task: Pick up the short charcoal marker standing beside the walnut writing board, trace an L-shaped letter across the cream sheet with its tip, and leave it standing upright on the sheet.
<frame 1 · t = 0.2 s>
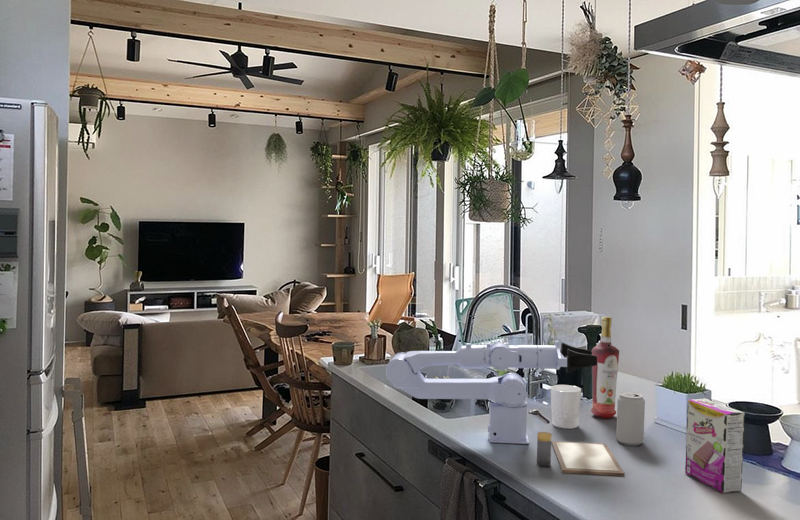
hand: (594, 357, 158), 21 cm above the worktop, tool horizontal, fingers open, 7 cm apart
beverage can: (629, 443, 161), on the worktop
marker: (543, 465, 144), on the worktop
candy bar box: (712, 483, 136), on the worktop
white cup: (564, 425, 174), on the worktop
writing board: (585, 458, 149), on the worktop
liquor: (603, 417, 183), on the worktop
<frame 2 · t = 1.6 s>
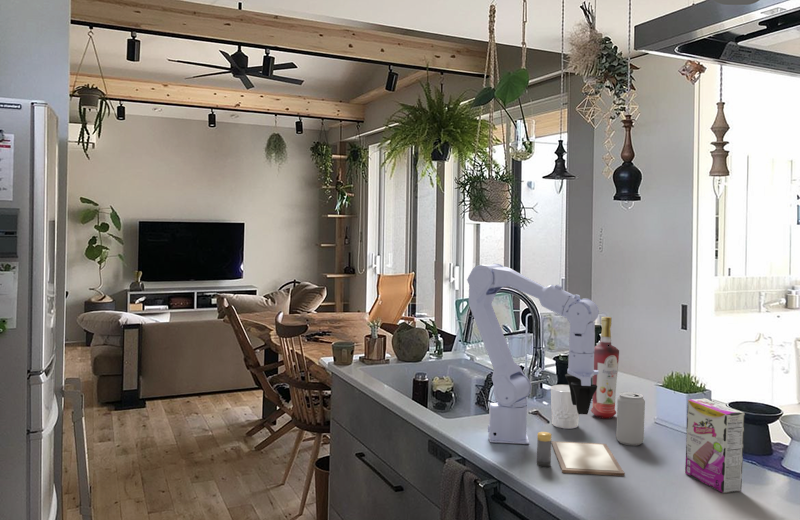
hand: (579, 409, 152), 10 cm above the worktop, tool pointing down, fingers open, 7 cm apart
nothing on the worktop moved.
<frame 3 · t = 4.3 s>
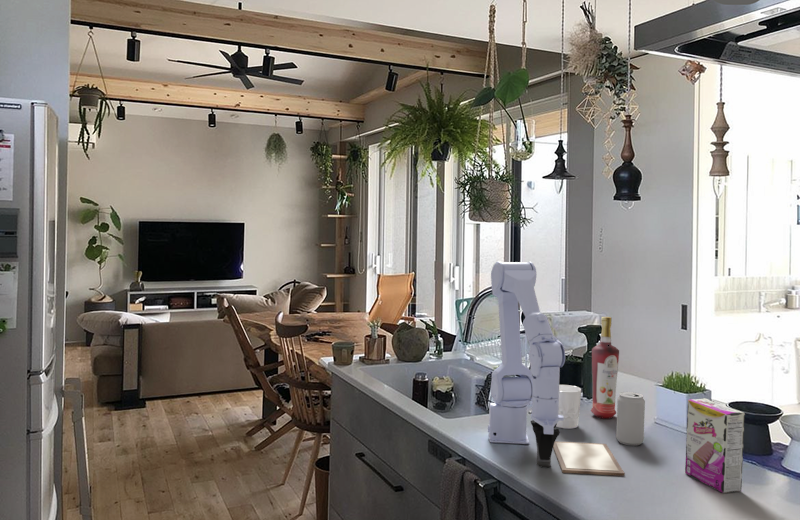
hand: (543, 456, 144), 2 cm above the worktop, tool pointing down, fingers closed on marker, 3 cm apart
marker: (543, 465, 144), on the worktop, touching gripper
everything else where it was.
when the fingers open (3 cm above the worktop, at t = 11.8 s): marker stays where it is, resting on writing board.
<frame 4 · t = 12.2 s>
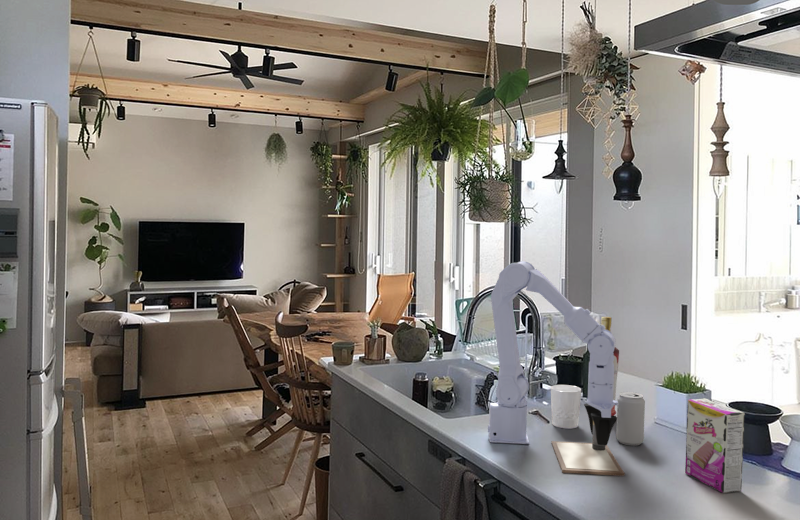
hand: (599, 439, 154), 3 cm above the worktop, tool pointing down, fingers open, 7 cm apart
marker: (598, 448, 154), point 1 cm above the worktop, touching writing board
everything else where it was.
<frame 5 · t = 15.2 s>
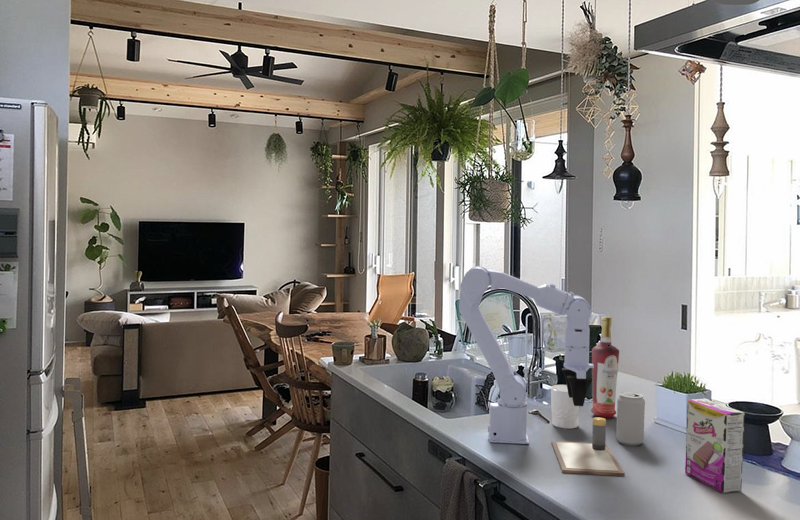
hand: (575, 401, 159), 10 cm above the worktop, tool pointing down, fingers open, 7 cm apart
nothing on the worktop moved.
at the end: marker inside the target area on the writing board (0.2 cm from its centre), point 0.7 cm above the writing board's base; marker tilted 1°; the gripper is holding nothing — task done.
